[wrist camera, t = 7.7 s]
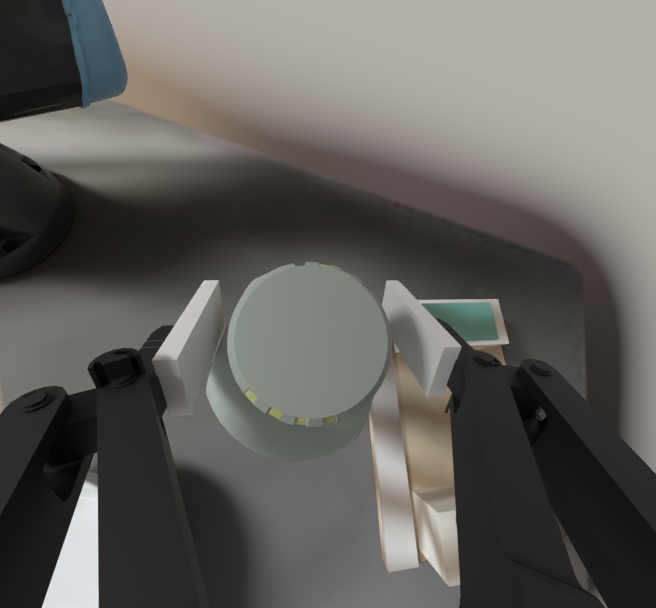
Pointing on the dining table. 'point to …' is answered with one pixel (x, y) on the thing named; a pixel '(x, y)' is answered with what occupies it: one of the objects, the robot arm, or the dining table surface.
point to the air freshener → (300, 362)
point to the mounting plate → (424, 448)
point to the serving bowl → (78, 556)
